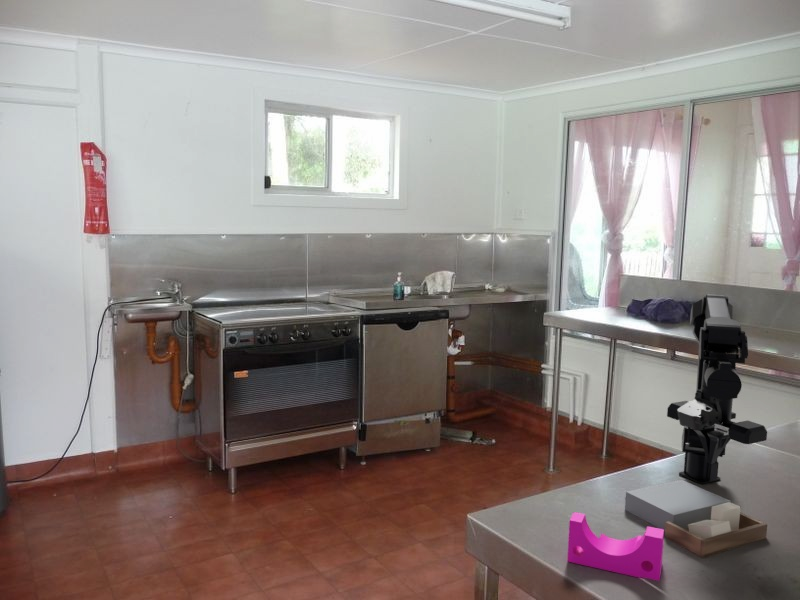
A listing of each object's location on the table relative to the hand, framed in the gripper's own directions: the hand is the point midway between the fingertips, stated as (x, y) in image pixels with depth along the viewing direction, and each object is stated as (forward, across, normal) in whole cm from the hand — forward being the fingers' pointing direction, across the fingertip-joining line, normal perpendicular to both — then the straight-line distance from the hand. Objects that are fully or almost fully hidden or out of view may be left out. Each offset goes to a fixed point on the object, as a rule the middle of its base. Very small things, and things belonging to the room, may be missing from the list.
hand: (711, 462), depth 135 cm
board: (+12, -3, -5) cm, 13 cm away
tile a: (+8, +7, -9) cm, 14 cm away
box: (+11, +7, -6) cm, 15 cm away
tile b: (+8, +5, -3) cm, 10 cm away
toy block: (+11, +6, -30) cm, 33 cm away
